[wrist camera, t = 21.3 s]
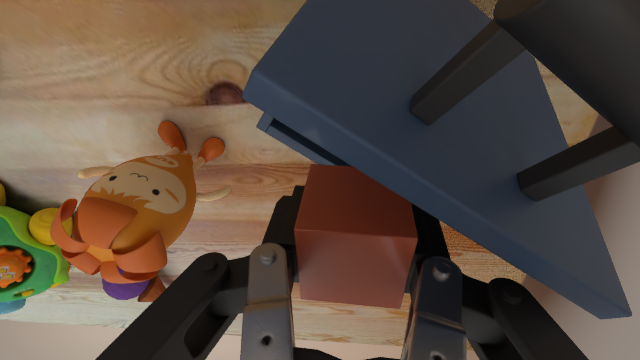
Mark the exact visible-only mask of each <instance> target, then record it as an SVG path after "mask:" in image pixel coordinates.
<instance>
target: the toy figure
mask: <svg viewBox="0 0 640 360" xmlns="http://www.w3.org/2000/svg"><path fill="white" fill-rule="evenodd" d="M158 133H159V135H160V137H161V139H162V140H163V141H164V142H165V143H166V144H168V145H169V146H171V147H172V148H171V150H170V151H169V152H168V153H166V154H165V155H157V156H145V157H140V158H136V159H133V160H130V161H127V162H124V163H122V164H120V165H118V166H116V167H106V166H104V167H91V168H86V169H83V170H79V171H78V176H79V177H80V178H81V179H86V178H90V177H94V176H102V177H101V178H100V179H99V180H98V181H96V182H95V183H94V184H93V185H92V186H91V187H90V188H89V189H88V191H87V192H86V193H85V195H84V197H83V198H82V200H81V202H80V204H79V206H78V208H77V211H76V214H75V217H74V221H73V227H72V237H70V236H69V235H68V234H67V232H66V231H65V229H64V227H63V224H62V222H64V221H66V220H67V219H69V218H70V217H71V215H72V214H73V212H74V210H75V208H76V205H77V200H76V199H68V200H67V201H65V202H64V203H63V204H62V205H61V206H60V208H59V209H58V211H57V213H56V215H55V217H54V219H53V222H52V224H51V228H50V236H51V239H52V240H53V242H54V243H55V244H56V245H57V246H58V247H60V248H61V254H62V255H63V257H64V258H65V259H66V260H67V261H68V262H70V263H71V264H72V265H74V266H75V267H77V268H78V269H80V270H81V271H83V272H85V273H87V274H89V275H94V274H96V273H98V272H99V271H100V273H101V276H102V278H103V279H104V280H106V281H107V282H110V283H119V284H125V283H136V282H143V281H146V280H149V279H152V278H153V277H155V276H156V275H157V274H158V272H159V270H160V269H162V268H163V267H165V265H166V264H167V253H166V248H168V247H169V246H170V245H171V244H172V243H173V242H174V241H175V240H176V239H177V238H178V237H179V236H180V235H181V234H182V232H183V231H184V229H185V228H186V226H187V224H188V222H189V221H190V219H191V216H192V214H193V211H194V207H195V203H196V200H197V201H211V200H216V199H219V198H222V197H225V196H226V195H227V194H229V193H230V192H231V187H230V186H224V187H223V188H222V189H220V190H217V191H215V192H210V193H196V184H195V179H194V173H195V172H196V171H197V170H198V169H199V168H200V167H201V166H202V165H203V164H205V163H206V162H208V161H210V160H212V159H214V158H216V157H218V156H219V155H221V154H222V153H223V151H224V148H225V147H224V143H223V142H222V141H221V140H220V139H218V138H210V139H208V140H207V141H206V142H205V143H204V145H203V147H202V149H201V151H200V152H199V154H198V157H197V159H196V161H195V162H194V163H193V161H192V156H191V155H190V154H180V153H184V152H185V150H186V146H185V143H184V141H183V138H182V135H181V133H180V131H179V129H178V128H177V127H176V126H175V125H174V124H173V123H172V122H169V121H163V122H161V123H160V125H159V127H158ZM117 268H121V269H122V270H124V273H123V274H122V275H121V274H120V273H119V271H118V269H117Z"/></svg>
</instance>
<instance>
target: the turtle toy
mask: <svg viewBox="0 0 640 360" xmlns="http://www.w3.org/2000/svg"><path fill="white" fill-rule="evenodd" d="M5 204H6V196H5V190H4V187H3V185H2V184H1V183H0V314H5V313H10V312H13V311H16V310H19V309H21V308H22V307H23V306H24V305H25V301H26V298H27V297H31V296H34V295H36V294H39V293H41V292H43V291H45V290H47V289H49V288H53V287H56V286H58V285H60V284H65V283H67V282H68V281H69V275H68V272H69V269H70V266H69V262H68V261H67V260H66V259H65V258H64V257H63V255H62V254H61V248H60V247H58V246H57V245H56V244H55V243H54V242H53V240H52V239H51V236H50V228H51V224H52V222H53V219H54V217H55V215H56V213H57V211H58V209H59V208H46V209H43V210H40V211H38V212H36V213H35V214H34V215H33V216H32V217H31V216H29V215H27V214H25V213H23V212H20V211H18V210H16V209H13V208H10V207H6V206H5ZM62 224H63V227H64V229H65V231H66V232H67V234H68V235H69V236H71V234H72V227H73V224H72V217H70V218H69V219H67V220H66V221H64V222H62Z"/></svg>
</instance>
